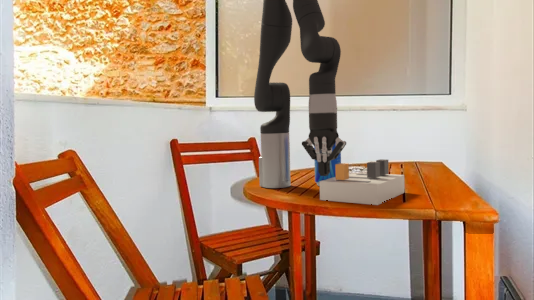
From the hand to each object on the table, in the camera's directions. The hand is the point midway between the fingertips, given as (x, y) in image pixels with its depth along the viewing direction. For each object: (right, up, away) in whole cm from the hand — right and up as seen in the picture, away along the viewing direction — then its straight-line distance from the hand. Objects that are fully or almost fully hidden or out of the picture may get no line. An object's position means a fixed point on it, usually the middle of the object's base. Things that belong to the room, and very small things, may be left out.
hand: (324, 175), depth 123 cm
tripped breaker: (+4, -1, -3) cm, 5 cm away
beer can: (+4, -5, +23) cm, 24 cm away
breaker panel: (+11, -6, +1) cm, 12 cm away
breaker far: (+17, 0, +4) cm, 17 cm away
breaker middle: (+13, 0, -1) cm, 13 cm away
